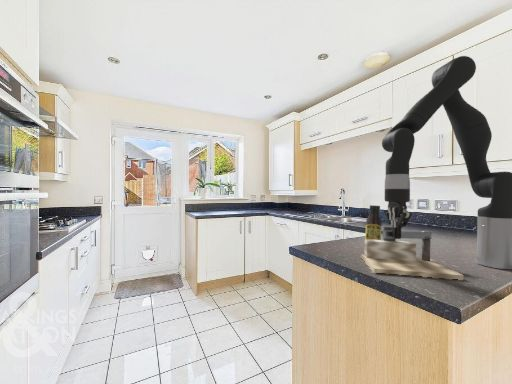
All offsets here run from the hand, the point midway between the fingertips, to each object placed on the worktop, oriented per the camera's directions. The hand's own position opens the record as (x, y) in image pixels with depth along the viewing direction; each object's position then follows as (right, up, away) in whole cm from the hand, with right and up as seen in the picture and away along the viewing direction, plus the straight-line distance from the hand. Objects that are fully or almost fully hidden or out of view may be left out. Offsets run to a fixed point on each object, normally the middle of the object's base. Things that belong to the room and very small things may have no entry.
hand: (396, 238), depth 81 cm
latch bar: (+5, 0, +3) cm, 6 cm away
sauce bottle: (+3, -10, +22) cm, 24 cm away
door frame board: (+2, -10, -1) cm, 10 cm away
